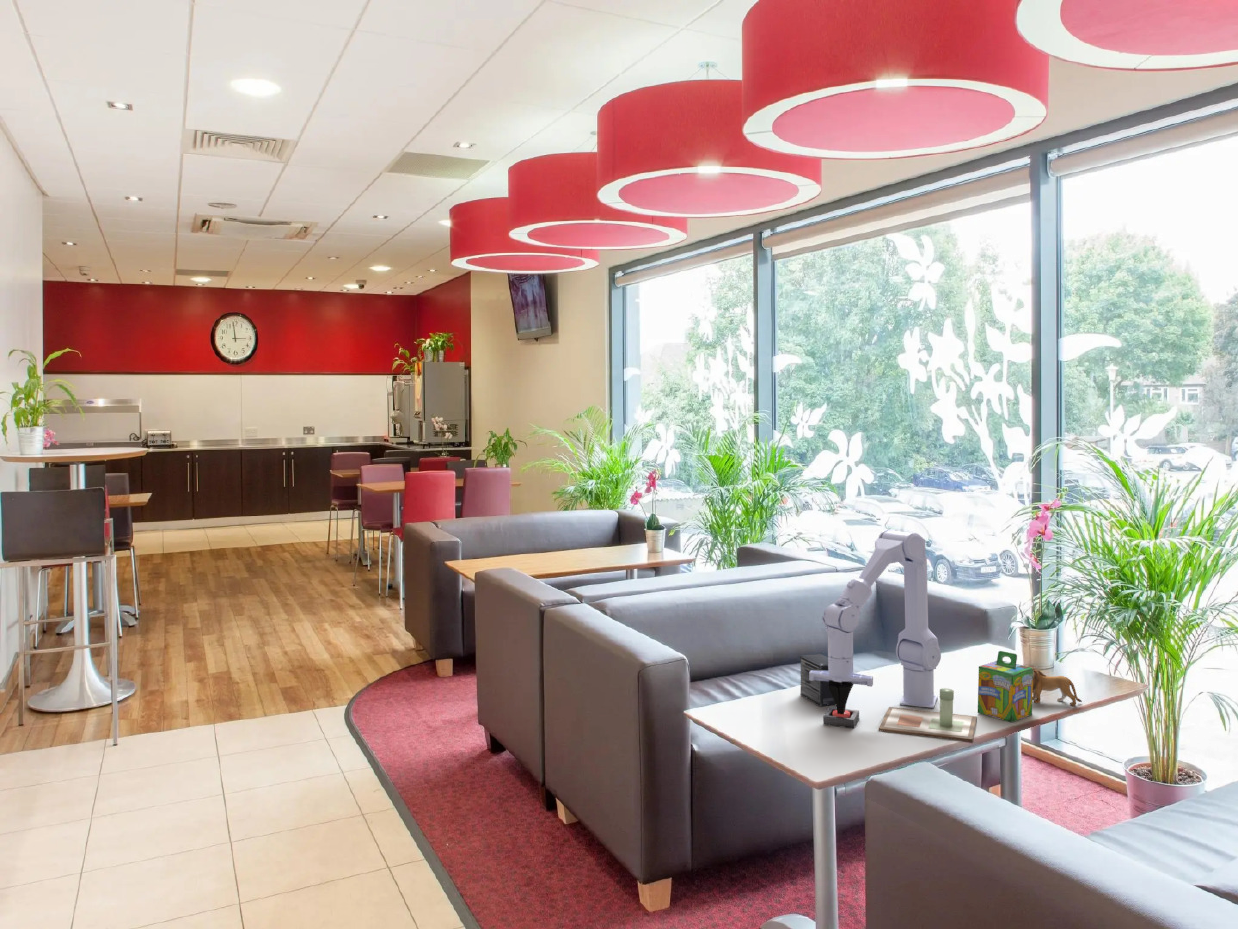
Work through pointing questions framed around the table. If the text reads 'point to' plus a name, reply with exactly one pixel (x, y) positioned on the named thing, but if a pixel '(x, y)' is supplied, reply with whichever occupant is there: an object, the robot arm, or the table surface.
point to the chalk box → (1005, 689)
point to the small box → (816, 688)
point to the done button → (846, 714)
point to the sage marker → (946, 707)
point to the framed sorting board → (927, 724)
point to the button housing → (841, 719)
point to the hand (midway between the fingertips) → (841, 713)
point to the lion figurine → (1052, 686)
